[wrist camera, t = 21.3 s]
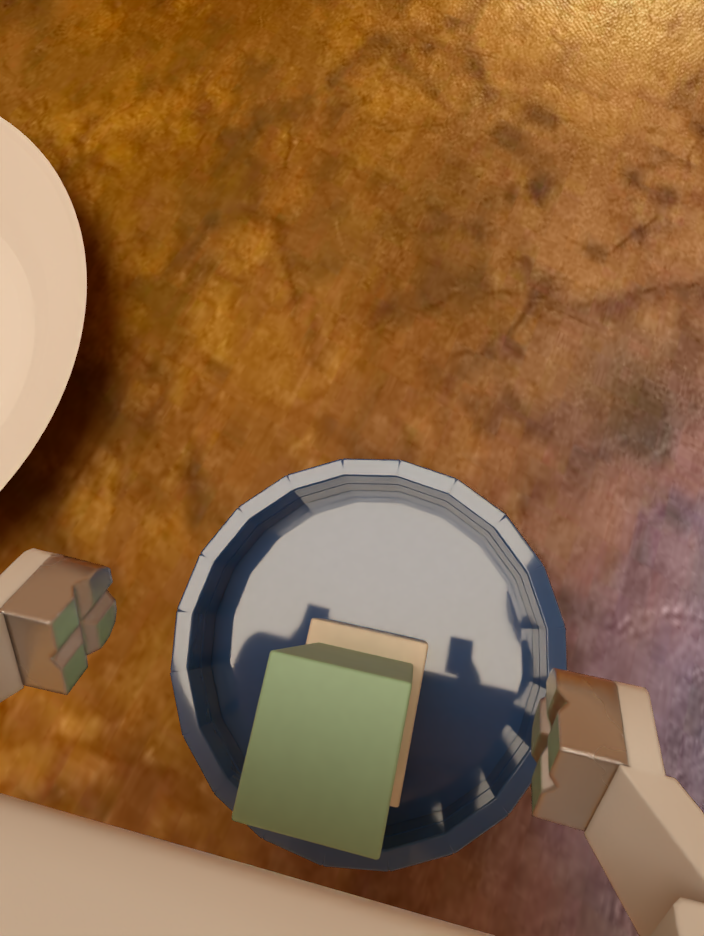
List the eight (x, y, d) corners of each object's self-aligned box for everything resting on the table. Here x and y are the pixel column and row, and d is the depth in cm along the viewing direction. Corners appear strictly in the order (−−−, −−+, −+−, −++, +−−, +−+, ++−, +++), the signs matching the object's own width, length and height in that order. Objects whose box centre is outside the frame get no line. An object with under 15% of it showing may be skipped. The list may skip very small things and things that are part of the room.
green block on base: (427, 641, 27) (434, 652, 16) (400, 788, 25) (389, 905, 15) (322, 618, 27) (262, 613, 17) (291, 760, 26) (205, 853, 15)
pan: (543, 481, 28) (561, 462, 25) (552, 852, 25) (573, 888, 22) (217, 474, 30) (191, 455, 26) (185, 823, 26) (151, 853, 23)
